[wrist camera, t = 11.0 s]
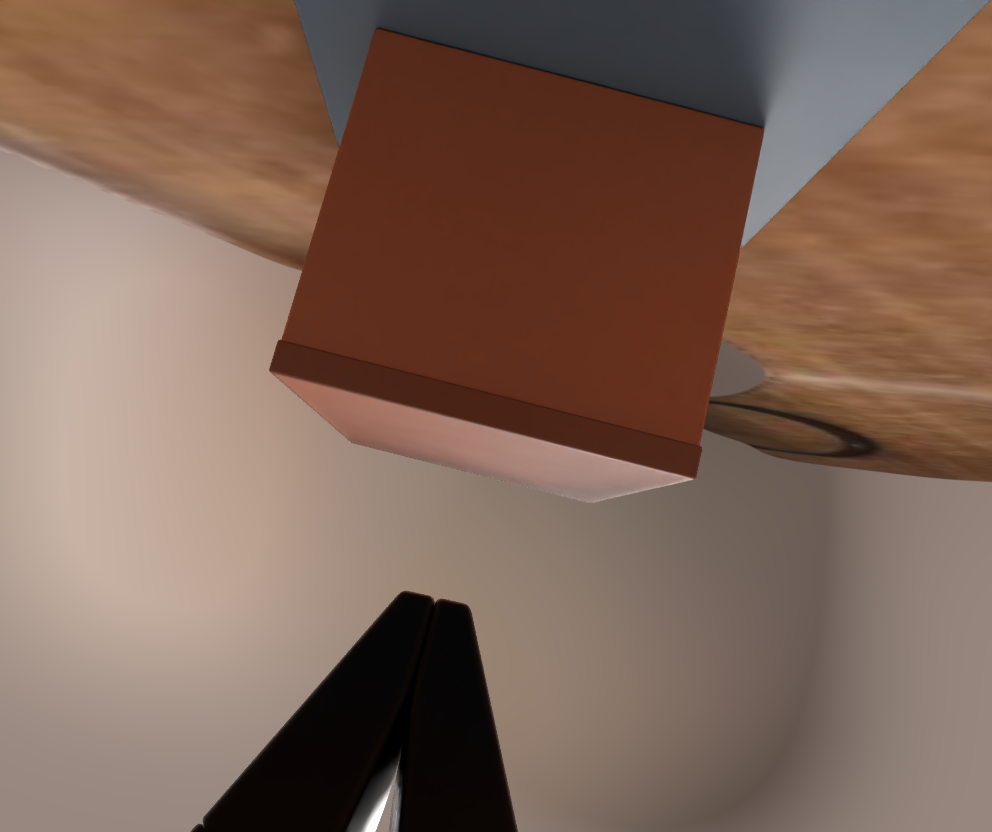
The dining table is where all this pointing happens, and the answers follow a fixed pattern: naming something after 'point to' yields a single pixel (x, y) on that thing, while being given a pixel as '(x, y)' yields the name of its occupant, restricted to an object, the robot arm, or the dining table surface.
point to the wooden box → (520, 273)
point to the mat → (677, 60)
